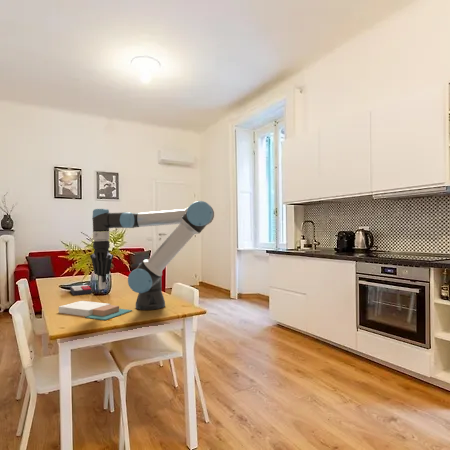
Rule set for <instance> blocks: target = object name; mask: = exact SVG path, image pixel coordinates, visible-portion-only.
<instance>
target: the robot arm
mask: <svg viewBox="0 0 450 450" xmlns="http://www.w3.org/2000/svg"><path fill="white" fill-rule="evenodd" d="M214 218H215V211H214V208H213V207H212V206H211V205H210V204H209V203H208V202H206V201H202V200H197V201H194V202H192V203H191V204H190V205H189V206H187V207H186V208H184V209H183V208H182V209H181V208H180V209H170V210H169V209H168V210H160V211H145V212H135V213H134V212H129V211H128V212H127V211H124V212H122V211H121V212H110V209H108V208H95V209H93V210H92V240H93V242H92V243H93V244H92V248H93V249H94V250H93V253H92V254H90V255H89V257H90V259H91V262H92V268H93V273H94V274H95V275H97V282H98V290H105V289H106V288H107V287H106V282H107V275H109V274H110V273H111V267H112V261H113V259H114V254H111V253H110V250H109V249H110V246H111V245H110V229H123V228H124V229H134V228H145V227H157V226H159V227H160V226H168V225H169V226H170V225H178V226H176V228H175V229H174V230H173V231H172V232H171V234H170V235H169V236H168V237H167V238H166V239H165V240H164V241H163V242H162V244H161V245H160V246H159V247H158V248H157V249H156V250H155V251H154V253H153V254H152V255H151V256H150V257H149V258H148V259H144V260H142V262H139V263H138V266H137V267H136V268H135V269H133V270H132V271H131V272H130V273H129V274H128V277H127V284H128V287H129V288H130V289H131V290H132V291H133V292H134V293H136V294H137V298H136V301H135V309H137V310H143V311H149V310H150V311H151V310H159V309H163V308H165V306H166V301H165V297H164V295H163V290H162V287H163V286H162V283H163V282H162V276H163V270H165V268H166V267H167V266H168V265H169V264H170V262H172V260H174V258H175V257H176V256H177V255H178V254H179V252H180V251H182V249H183V248H184V247H185V246H186V244H187V243H188V242H190V240H191V238H193V237H194V236H195V235H198V234H200V233H201V232H203V230H204V229H205V228H206V227H207V226H208V225H210V224H211V223H212V222H213V220H214Z"/></svg>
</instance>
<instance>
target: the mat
mask: <svg viewBox="0 0 450 450" xmlns="http://www.w3.org/2000/svg"><path fill="white" fill-rule="evenodd" d="M130 312H133V310H132V309H125V308H119V311H118V312H115V313H112V314H109V315H106V316H99V315H93V314H92V315H89V316H84V317H85V319H90V320H91V319H93V320H98V321H99V320H100V321H107V320H110V319H114V318H116V317H119V316H122V315H125V314H128V313H130Z"/></svg>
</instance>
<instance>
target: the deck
mask: <svg viewBox="0 0 450 450" xmlns="http://www.w3.org/2000/svg"><path fill="white" fill-rule="evenodd" d="M106 305H111V303H105V302H98V301H97V302H96V301H90V300H89V301H88V300H87V301H86V300H79V301H75V302H71V303H67V304H64V305H60V306H58V313H59V314H67V315H73V316H81V317H86V316H89V315H92V314H93V309H96V308H99V307H102V306H106Z"/></svg>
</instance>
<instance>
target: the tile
mask: <svg viewBox="0 0 450 450" xmlns="http://www.w3.org/2000/svg"><path fill="white" fill-rule="evenodd" d="M119 309H120V305H114V304H110V305H106V306H102V307H99V308H96V309H93V315H99V316H106V315H109V314H112V313H115V312H118V311H119Z"/></svg>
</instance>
